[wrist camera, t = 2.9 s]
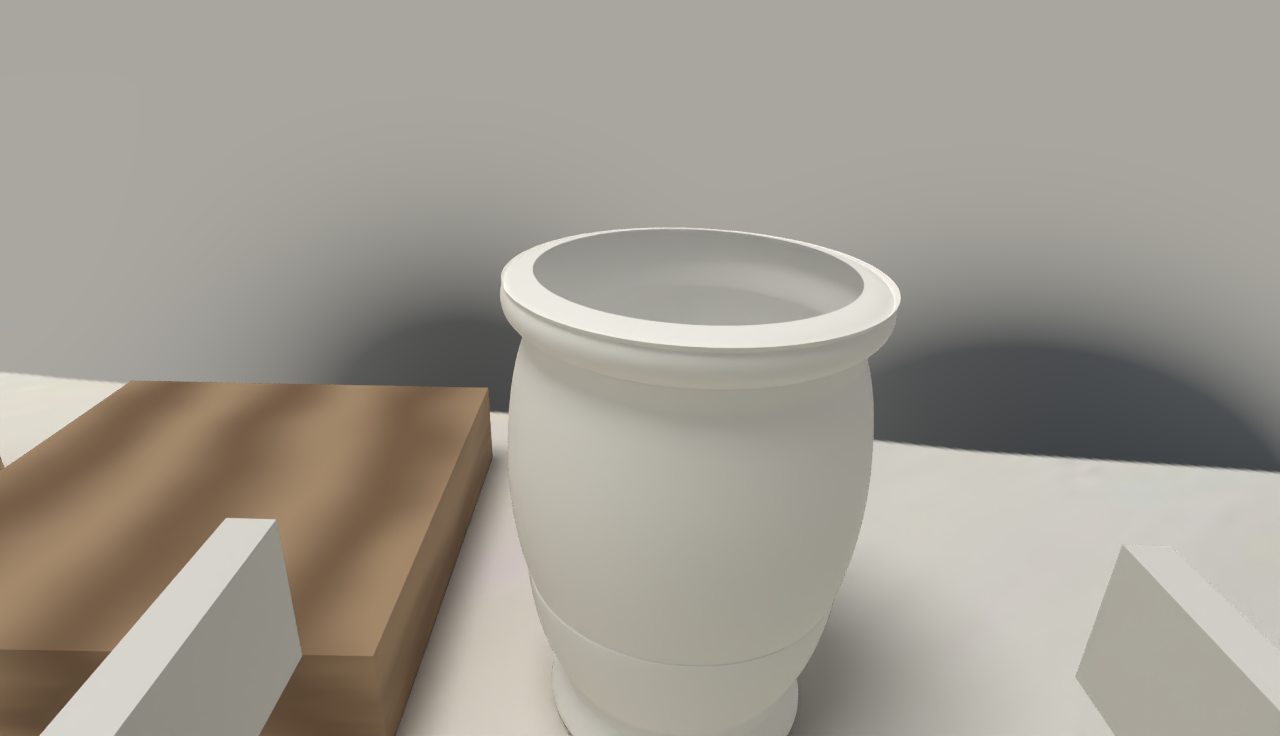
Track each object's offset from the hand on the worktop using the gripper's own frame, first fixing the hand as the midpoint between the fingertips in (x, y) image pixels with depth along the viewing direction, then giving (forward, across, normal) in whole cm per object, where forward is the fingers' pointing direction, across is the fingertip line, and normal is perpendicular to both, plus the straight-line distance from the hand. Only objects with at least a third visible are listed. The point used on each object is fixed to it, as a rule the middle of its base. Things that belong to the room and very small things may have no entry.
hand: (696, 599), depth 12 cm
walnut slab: (+16, -17, -13) cm, 27 cm away
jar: (+10, +1, -13) cm, 16 cm away
